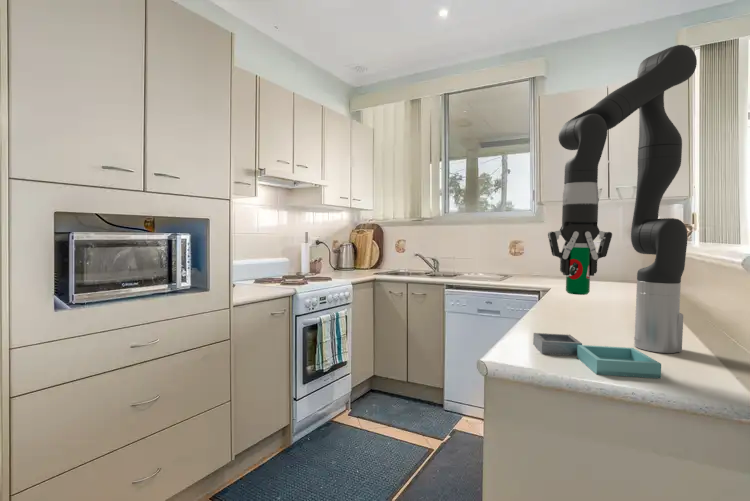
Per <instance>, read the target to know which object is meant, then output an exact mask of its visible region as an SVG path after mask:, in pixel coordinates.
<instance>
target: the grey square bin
mask: <svg viewBox="0 0 750 501" xmlns="http://www.w3.org/2000/svg"><path fill="white" fill-rule="evenodd" d="M532 337H533V338H532V341H533V342H532V343H533V344H532V345H534V347H535V348H536V349H537V351H539V352H540V354H541V355H553V356H554V355H555V356H556V355H558V356H570V357H575V356H576V357H577V345H583V343H582V341H581V342H580V341H579V340H578V339H577V338H575V337H574V336H572V335H571V334H563V333H562V334H561V333H544V332H543V333H541V332H533V336H532Z"/></svg>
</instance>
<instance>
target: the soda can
mask: <svg viewBox="0 0 750 501" xmlns="http://www.w3.org/2000/svg"><path fill="white" fill-rule="evenodd" d="M567 260H569V269H568V275H565V291H566V293H567V294H570V295H578V296H585V295H588V294H589V293H590V289H591V288H590V286H591V285H590V284H591V283H590V281H591V276H590V260H591V251H590V248H589V246H588V243H575V244H574V246H573V248H572V250H571V251H570V253H569V256H568V258H567Z"/></svg>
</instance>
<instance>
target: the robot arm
mask: <svg viewBox="0 0 750 501" xmlns="http://www.w3.org/2000/svg"><path fill="white" fill-rule="evenodd" d="M697 65H698V64H697V55H696V53H695V51H694V50H693V49H692V48H691V47H690V46H688V45H687V44H677V45H674V46H670V47H667V48H666V49H663V50H661V51H658V52H657V53H654V54H652V55H650V56H648V57H646V58H644V59H643V60H642V61H641V63H640V64H639V66H638V69H637V76H636V78H634V79H633V80H630V82H627V83H626V84H624V85H621V87H618V88H616V89H615V90H614V91H612V92H610V93H609V94H607V95H606V96H605V97H604V98H602V99H600V100H599V101H598V102H596V104H594V105H593V106H591V107H590V108H589V109H587V110H584V111H582V112H581V113H579V114H577V115H576V116H574V117H573V118H571V119H570V120H568V121H566V122H565V123H564V124H563V125H562V126H561V128H560V130H559V132H558V142H559V144H560V146H561V147H562V148H564V149H565V150H568V151H576V152H575V153H576V154H575V155H574V156H573V157H572V158H570V159H569V160H567V161H566V163H565V165H564V182H563V183H564V185H563V192H562V210H561V211H562V214H561V215H562V216H561V227H560V229H559V230H555V231H548V232H547V238H548V243H549V247H550V251H551V255H552V256H553V257H557V258H559V263H560V264H559V265H560V267H559V271H560V273H562V275H563V276H566V275H568V269H569V260H567V258H568V256H569V253H570V251H571V250H572V248H573V246H574V244H575V243H588V246H589V248H590V251H591V260H590V277H591V276H592V277H594V276H595V274H597V272H598V260H599V259H601V258H606V257H607V255H608V252H609V248H610V244H611V240H612V237H613V233H612V232H610V231H603V230H600V229H599V226H598V222H599V220H598V219H599V201H600V199H599V186H598V180H599V178H598V175H599V174H598V173H599V164H600V161H601V158H602V155H603V151H604V148H605V145H606V141H607V136H608V130H609V131H610V130H612V129H613V128H615V127H616V126H618V125H619V124H620V123H621V122H624V120H626V119H627V118H628V117H630V116H631V115H632V114H633V113H634V112H637V110H638V112H639V113H638V114H639V117H638V118H639V124H638V126H639V128H638V131H639V132H638V147H637V148H638V149H637V178H636V179H637V180H636V181H637V182H636V192H635V203H634V209H633V214H632V222H631V228H630V241H631V245H632V247H633V249H634V250H635V252H637V253H639V254H641V255H642V254H643V255H653V256H654V255H655V259H654V262H653V263H652V264H650V265H648V266H645V267H642V268H639V269H638V271H637V273H636V298H635V320H634V321H635V322H634V337H633V338H634V339H633V340H634V344H633V345H634V346H635V348H637V349H640V350H643V351H644V350H645V351H648V352H654V353H662V354H663V353H664V354H675V353H682V352H683V333H684V332H683V330H684V314H683V313H680V312H681V311H680V309H681V308H680V307H681V306H680V305H681V284H682V276H683V274H684V271H685V265H686V258H687V257H686V256H687V247H688V230H687V227H686V225H685V223H684V221H682V220H681V219H679V218H674V217H673V218H672V217H671V218H669V217H668V218H664V217H663V218H659V211H660V205H661V201H662V199H663V197H664V194H665V193H666V191H667V189H669V187H670V185H671V184H672V182H673V181H674V179H675V178H676V176H677V174H678V172H679V171H680V168H681V165H682V155H683V154H682V152H683V151H682V150H683V139H682V136H681V133H680V132H679V130H678V128H677V126H675V124H674V123H673V121H672V120H671V119H670V117H669V116H668V115H667V112H666V110H665V101H664V100H665V92H666V91H668V90H669V89H671V88H674V87H676V86H679V85H680V84H682V83H684V82H686V81H687V80H689V79H690V78H692V76H693V75H694V73H695V71H696V69H697ZM560 236H561V237H562V238H563V239H564V243H563V246H562V250H561V251H560V249H559V248H560V247H559V243H558V240H559V239H560ZM597 237H599V238H598V239H599V241H600V242H599V246H598V251H597V249H596V244H595V243H594V240H596V238H597Z"/></svg>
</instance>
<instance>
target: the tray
mask: <svg viewBox="0 0 750 501" xmlns="http://www.w3.org/2000/svg"><path fill="white" fill-rule="evenodd" d="M576 358H577V359H578V360H579V361H581V363H582V364H584V365H585V366H586V367H587V368H588V369H590V370H591V371H592V372H593V373H594V374H595V375H599V376H613V377H614V376H616V377H630V378H631V377H632V378H647V379H661V377H662V363H661V362H659V361H657V360H656V359H654V358H652V357H650V356H648V355H646V354H645V353H643V352H642V351H640V350H638V349H636V348H635V347H625V346H623V347H622V346H621V347H620V346H606V345H604V346H602V345H586V344H585V345H583V344H582V345H577V356H576Z"/></svg>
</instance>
